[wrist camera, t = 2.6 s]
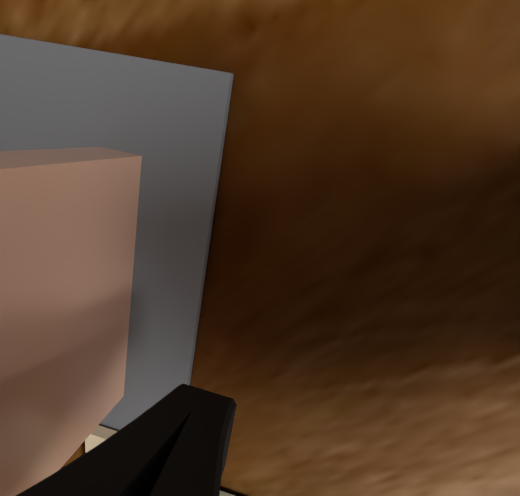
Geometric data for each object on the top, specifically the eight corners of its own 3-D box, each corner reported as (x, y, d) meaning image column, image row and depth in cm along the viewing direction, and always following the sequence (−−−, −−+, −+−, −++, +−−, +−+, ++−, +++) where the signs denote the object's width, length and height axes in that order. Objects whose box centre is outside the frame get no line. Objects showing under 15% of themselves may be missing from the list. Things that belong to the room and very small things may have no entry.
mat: (233, 74, 12) (230, 73, 12) (178, 465, 17) (175, 470, 17) (-149, 9, 14) (-159, 7, 14) (-98, 369, 19) (-105, 372, 19)
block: (141, 155, 13) (-72, 175, 6) (123, 396, 16) (-33, 574, 10) (98, 146, 13) (-149, 156, 7) (88, 384, 16) (-87, 550, 10)
